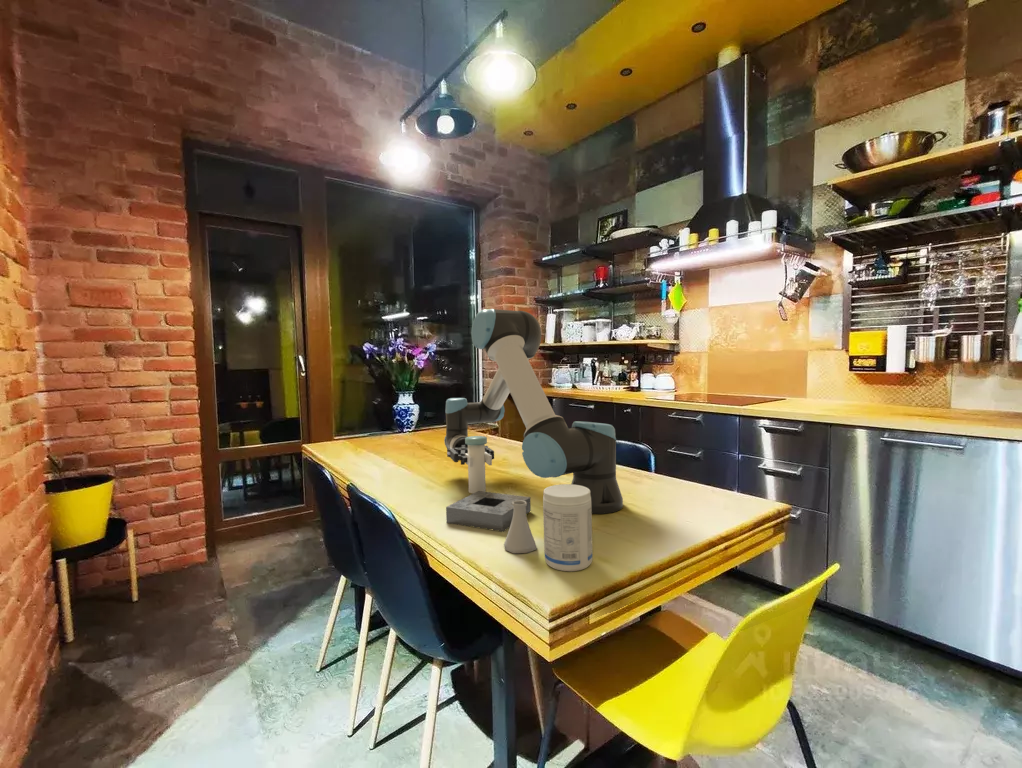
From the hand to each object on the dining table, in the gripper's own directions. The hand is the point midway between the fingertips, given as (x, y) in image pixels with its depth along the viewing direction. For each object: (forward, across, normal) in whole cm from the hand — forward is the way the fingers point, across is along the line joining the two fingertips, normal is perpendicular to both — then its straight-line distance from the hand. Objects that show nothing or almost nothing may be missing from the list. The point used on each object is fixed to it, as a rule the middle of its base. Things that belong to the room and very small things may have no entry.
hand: (480, 461), depth 136 cm
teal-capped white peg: (-5, 0, -10) cm, 11 cm away
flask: (+35, +1, -12) cm, 37 cm away
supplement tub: (+46, -6, -12) cm, 48 cm away
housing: (+13, +1, -12) cm, 18 cm away
